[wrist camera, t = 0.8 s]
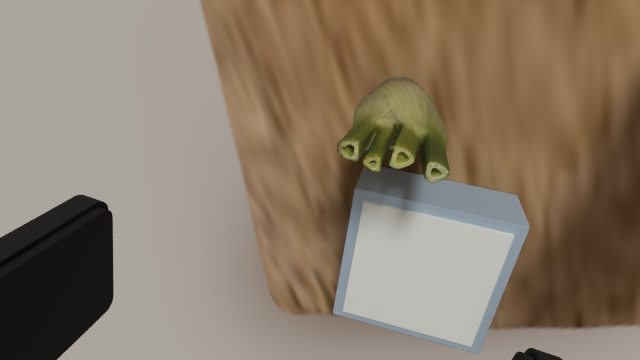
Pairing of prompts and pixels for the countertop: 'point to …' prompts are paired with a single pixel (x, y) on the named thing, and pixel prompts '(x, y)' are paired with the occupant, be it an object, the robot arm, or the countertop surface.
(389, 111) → the fennel bulb
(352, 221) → the base block
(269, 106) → the countertop surface
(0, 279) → the robot arm
